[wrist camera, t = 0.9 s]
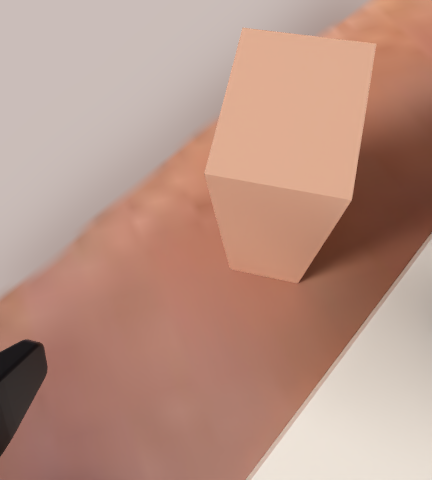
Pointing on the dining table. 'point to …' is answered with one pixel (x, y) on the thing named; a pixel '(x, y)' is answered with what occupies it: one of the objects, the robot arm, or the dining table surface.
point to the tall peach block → (287, 148)
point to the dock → (369, 397)
